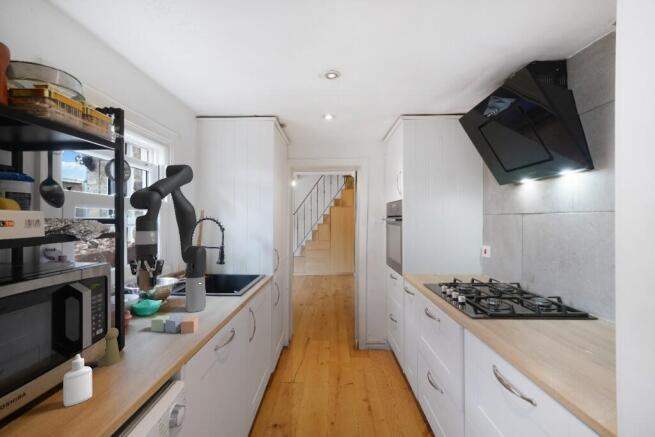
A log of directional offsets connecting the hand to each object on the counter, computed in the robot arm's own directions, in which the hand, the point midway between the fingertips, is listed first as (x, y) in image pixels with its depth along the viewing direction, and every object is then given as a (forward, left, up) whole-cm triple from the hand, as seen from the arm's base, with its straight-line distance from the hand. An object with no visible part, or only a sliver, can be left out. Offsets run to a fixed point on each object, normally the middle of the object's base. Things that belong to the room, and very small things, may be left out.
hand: (146, 286), depth 114 cm
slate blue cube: (-12, +3, -21) cm, 25 cm away
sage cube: (-12, -4, -21) cm, 25 cm away
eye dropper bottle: (+36, +12, -21) cm, 44 cm away
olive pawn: (+17, +1, -21) cm, 27 cm away
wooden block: (0, 0, -2) cm, 2 cm away
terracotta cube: (-12, +10, -21) cm, 26 cm away
